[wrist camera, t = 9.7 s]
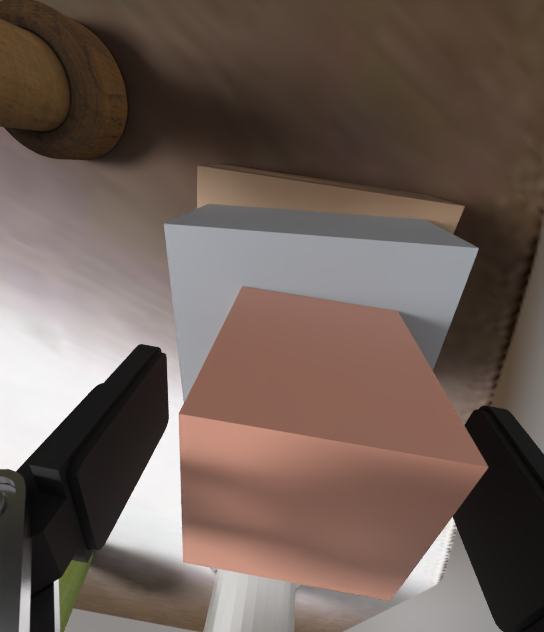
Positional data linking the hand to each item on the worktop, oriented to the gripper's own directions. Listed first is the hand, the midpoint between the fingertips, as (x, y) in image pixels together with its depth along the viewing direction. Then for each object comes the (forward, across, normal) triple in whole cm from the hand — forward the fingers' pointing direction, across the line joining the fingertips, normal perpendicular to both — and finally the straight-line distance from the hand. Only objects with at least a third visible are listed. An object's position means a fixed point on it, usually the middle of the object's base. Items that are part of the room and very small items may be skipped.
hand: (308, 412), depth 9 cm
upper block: (+8, 0, 0) cm, 8 cm away
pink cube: (+3, 0, 0) cm, 3 cm away
